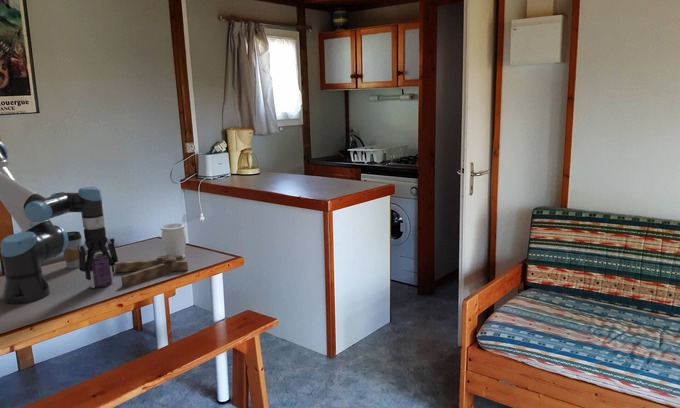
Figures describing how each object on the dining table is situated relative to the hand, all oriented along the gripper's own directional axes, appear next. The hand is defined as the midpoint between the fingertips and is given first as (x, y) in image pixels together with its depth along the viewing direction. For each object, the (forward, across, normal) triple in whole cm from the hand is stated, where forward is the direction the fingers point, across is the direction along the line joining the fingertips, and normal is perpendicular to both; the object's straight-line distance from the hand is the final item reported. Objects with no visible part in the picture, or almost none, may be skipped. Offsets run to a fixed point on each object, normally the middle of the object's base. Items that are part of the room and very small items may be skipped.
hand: (101, 283), depth 207 cm
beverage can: (+1, 0, 0) cm, 1 cm away
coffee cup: (+1, +6, +33) cm, 34 cm away
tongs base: (+1, +19, -7) cm, 20 cm away
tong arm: (0, +21, -2) cm, 21 cm away
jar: (+1, +38, +5) cm, 38 cm away
